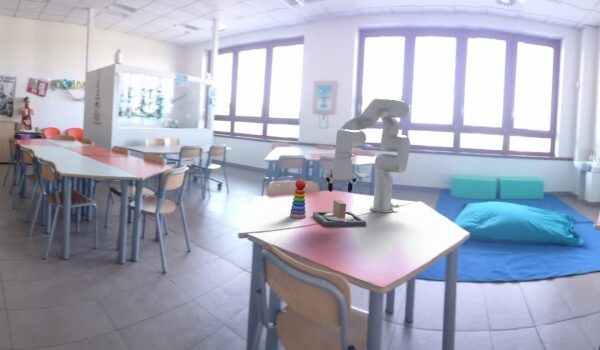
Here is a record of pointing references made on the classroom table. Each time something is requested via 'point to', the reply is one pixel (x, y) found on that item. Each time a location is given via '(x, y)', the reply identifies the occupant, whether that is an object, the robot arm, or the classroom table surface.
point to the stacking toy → (299, 200)
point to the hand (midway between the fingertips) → (339, 191)
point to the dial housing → (328, 223)
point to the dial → (338, 212)
